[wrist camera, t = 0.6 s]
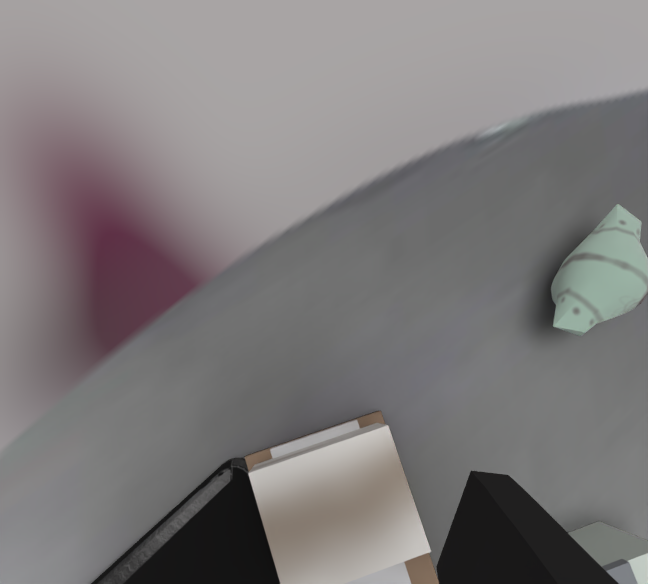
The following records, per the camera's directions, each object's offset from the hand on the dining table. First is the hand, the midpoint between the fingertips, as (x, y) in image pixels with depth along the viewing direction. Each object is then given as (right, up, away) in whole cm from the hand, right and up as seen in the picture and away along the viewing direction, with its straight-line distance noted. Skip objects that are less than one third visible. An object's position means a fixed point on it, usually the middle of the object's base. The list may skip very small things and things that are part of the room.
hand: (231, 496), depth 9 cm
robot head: (+16, +3, +27) cm, 32 cm away
